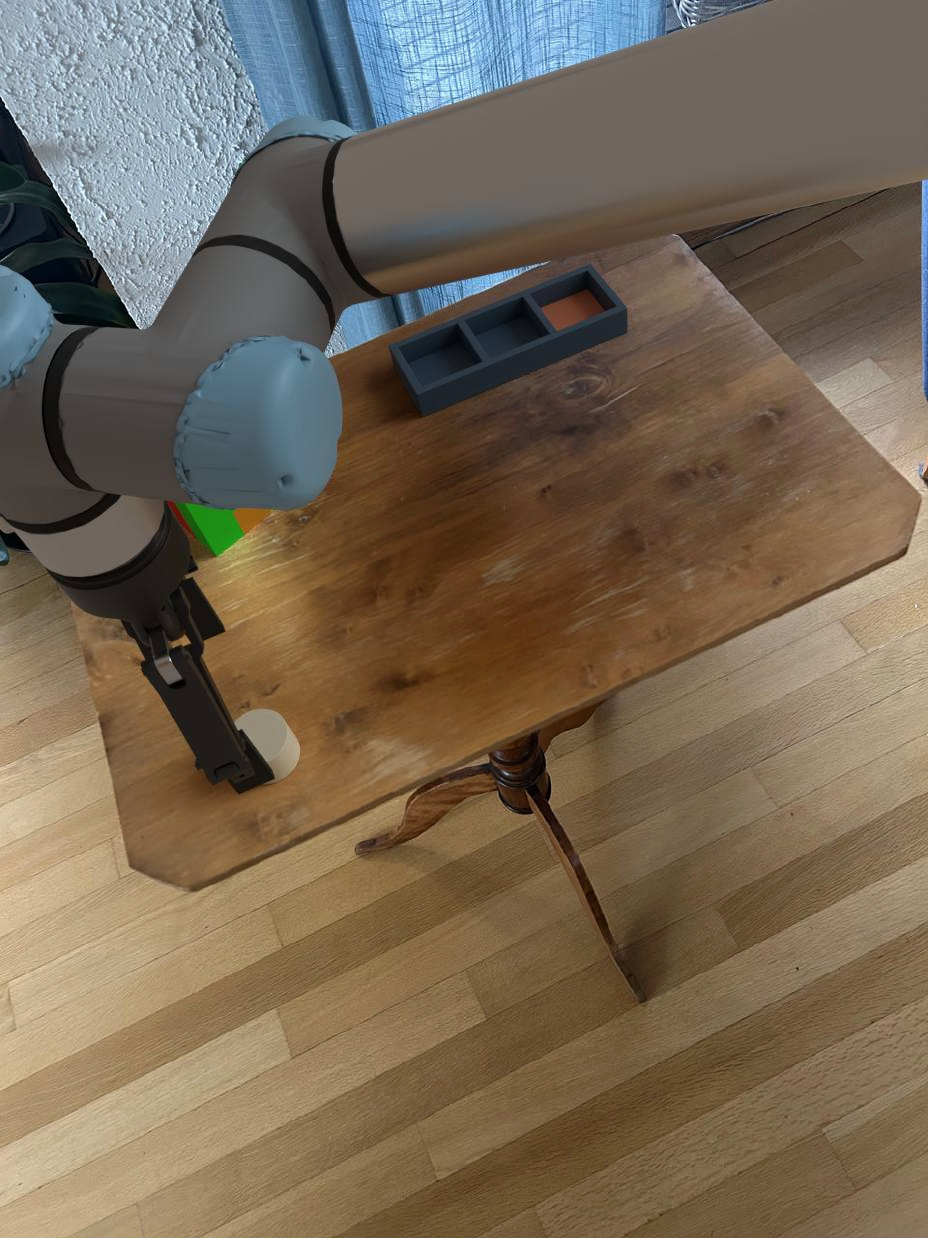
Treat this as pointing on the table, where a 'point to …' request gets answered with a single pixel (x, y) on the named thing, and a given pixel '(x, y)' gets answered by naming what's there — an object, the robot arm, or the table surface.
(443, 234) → the robot arm
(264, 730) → the cylinder
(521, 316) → the grid
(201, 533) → the puzzle toy
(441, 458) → the table surface
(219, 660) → the table surface
